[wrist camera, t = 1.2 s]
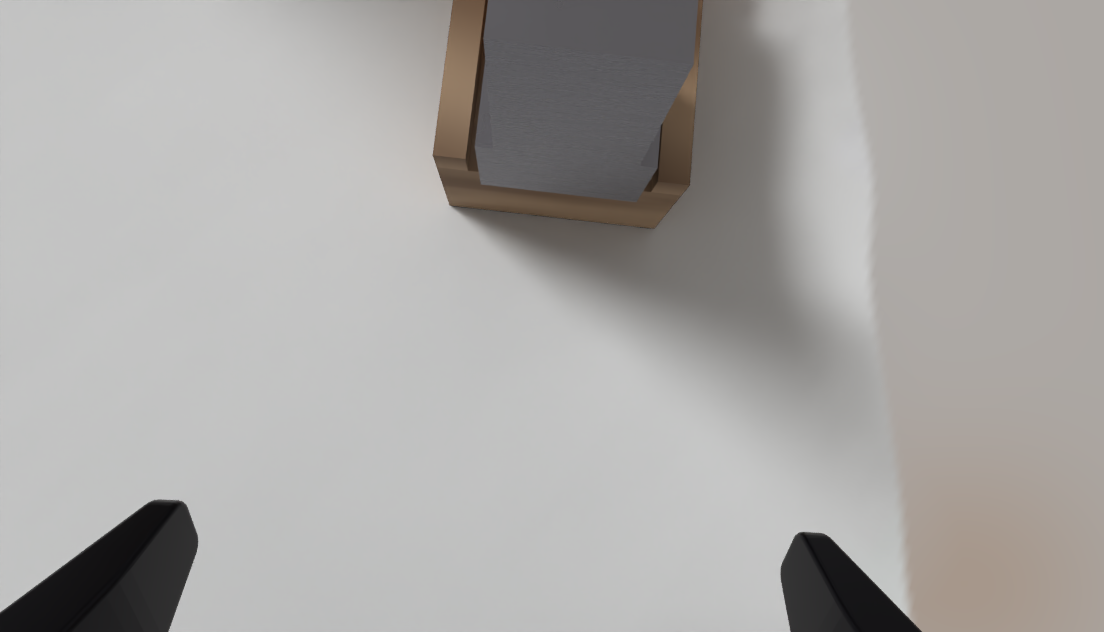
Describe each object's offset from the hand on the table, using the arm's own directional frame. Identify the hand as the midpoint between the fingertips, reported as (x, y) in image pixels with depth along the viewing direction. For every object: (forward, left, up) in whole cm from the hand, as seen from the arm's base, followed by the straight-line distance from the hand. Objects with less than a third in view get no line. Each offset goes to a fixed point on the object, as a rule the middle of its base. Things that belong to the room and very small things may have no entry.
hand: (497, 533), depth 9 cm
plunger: (+10, +2, -9) cm, 14 cm away
